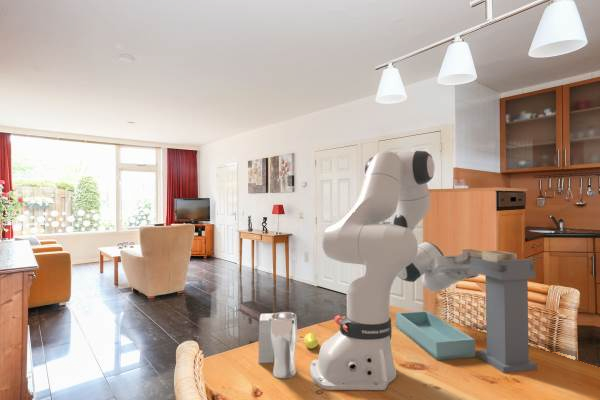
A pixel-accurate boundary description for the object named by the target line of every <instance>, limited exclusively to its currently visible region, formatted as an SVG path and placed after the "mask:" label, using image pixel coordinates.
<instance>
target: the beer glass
mask: <svg viewBox="0 0 600 400" xmlns="http://www.w3.org/2000/svg"><path fill="white" fill-rule="evenodd" d="M297 341H298V323H297V314H296V313H294V312H291V311H280V312H274V314H273V315H272V316H271V342H272V348H273V353H274V358H273V368H272V375H273V377H274V378H277V379H280V380H287V379H291V378H293V377H295V376H296V374H297V370H296V364H295V354H296V348H297Z"/></svg>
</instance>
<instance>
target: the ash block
mask: <svg viewBox="0 0 600 400" xmlns="http://www.w3.org/2000/svg"><path fill="white" fill-rule="evenodd" d="M465 252H469V253H470V255H471V258H478V259H482V260H486V261H491V262H495V263H499V264H500V260H517V256H518V255H517V253H513V252H508V251H503V250H489V251H486V250H485V251H480V250H475V249H469V248H467V249H464V248H463V249H462V254H463V253H465ZM466 260H469V261H470V258H469V259H466Z"/></svg>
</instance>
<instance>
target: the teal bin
mask: <svg viewBox="0 0 600 400" xmlns="http://www.w3.org/2000/svg"><path fill="white" fill-rule="evenodd" d="M395 327H396V328H397V329H398V330H399V331H400V332H401V333H403V334H404V335H405V336H407V338H409V339H410V340H411V341H412V342H414V343H415V344H416V345H417V346H419V347H420V348H421V349H422V350H423V351H425V352H426V353H427V354H428V355H430V356H431V357H432V358H433V359H434V360H435V361H444V360H455V359H465V358H466V359H467V358H475V357H476V339H475V338H473V337H471V335H469V334H467V333H465V332H463V331H462V330H460V329H459V328H457V327H455V326H453V325H451V324H450V323H449V322H447V321H445V320H443V319H441V318H440V317H438V316H436V315H435V314H433V313H431V312H430V311H428V310H421V311H419V310H417V311H405V312H395Z"/></svg>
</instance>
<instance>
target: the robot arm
mask: <svg viewBox="0 0 600 400" xmlns="http://www.w3.org/2000/svg"><path fill="white" fill-rule="evenodd" d="M434 161H435V160H434V159H433V156H432V154H430V153H429V152H428V151H424V150H416V151H399V152H397V151H396V152H393V151H390V150H383V151H379V152H378V153H376V154H374V156H372V157H370V158H369V159H368V160H367V161H366V163H365V166H364V176H363V180H362V184H361V186H360V189H359V192H358V195H357V198H356V200H355V203H353V205H352V207H351V208H350V210H349V211H347V213H346V214H345V215H344V216H343V217H342V218H340V219H339V220H338V221H336V222H335V223H333V224H330V225H329V226H328V227H326V229H325V231H324V233H323V235H322V237H321V238H322V239H321V245H322V249H323V252H324V254H325V255H326V257H328V258H329V259H331V260H334V261H337V262H340V263H344V264H353V265H364V266H365V274H364V275H363V276H361V277H359V278H356V279H354V280H353V281H351V282H350V283H349V285H348V286H347V290H346V315H345V316H344V317H341V315H336V316H335V317H334V322H335V323H336V325H338V326H339V330H338V331H337V332H336V333H334V334H333V335H332V336H331V337H329V338H328V339H327V340H325V341H324V342H323V343H322V344H321V346H320V349H319V353H318V358H317V359H313V360H312V361H311V363H310V367H309V373H310V374H309V375H310V376H311V379H312V380H313V382H314V383H315V385H317V386H318V387H319V388H321V389H323V390H331V391H332V390H333V391H337V390H338V391H343V390H345V391H348V390H349V391H356V390H357V391H385V390H386V389H387V388H388V386H389V383H392V381H394V380H395V379H396V377H397V375H398V374H397V373H398V372H397V370H396V366H395V361H394V357H393V352H392V351H393V350H392V343H391V340H392V332H393V331H392V329H393V328H392V327H393V326H392V319H391V316H390V300H391V290H392V286H393V284H394V281H395V279H396V278H397V277H399V278H400V279H401V280H403V281H405V282H410V283H414V282H416V281H417V280H418V279H419V278H420V277H421V283H422V285H423V287H424V288H425V289H427V290H428V291H431V292H439V291H443V290H445V289H447V288H449V287H451V285H454V284H456V283H458V282H462V281H463V280H467V279H473V278H477V277H479V276H480V274H479V273H476V272H473V271H469V264H470V261H469V260H466V259H469V258H471V255H470V253H469V252H465V253H463V252H462V253H461V254H457V255H455V254H453V255H445V254H444V253H443V252H442V250H441V249H440V248H439V246H437V245H435V243H434V244H433V243H431V242H429V241H423V242H421V243H418V239H417V237H416V235H415V234H414V229H415V228H416V226H417V225H418V224H419V223H420V222H421V221H422V220H423V218H425V217H426V216H427V214H428V212H429V211H430V208H431V194H430V190H429V185H428V183H429V182H430V181H431V180H432V179H433V177H434V174H435V162H434ZM394 214H395V216H394V219H393V224H391V223H382V222H384V221H385V220H388V219H390V218H391V217H392V216H393V215H394Z"/></svg>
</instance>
